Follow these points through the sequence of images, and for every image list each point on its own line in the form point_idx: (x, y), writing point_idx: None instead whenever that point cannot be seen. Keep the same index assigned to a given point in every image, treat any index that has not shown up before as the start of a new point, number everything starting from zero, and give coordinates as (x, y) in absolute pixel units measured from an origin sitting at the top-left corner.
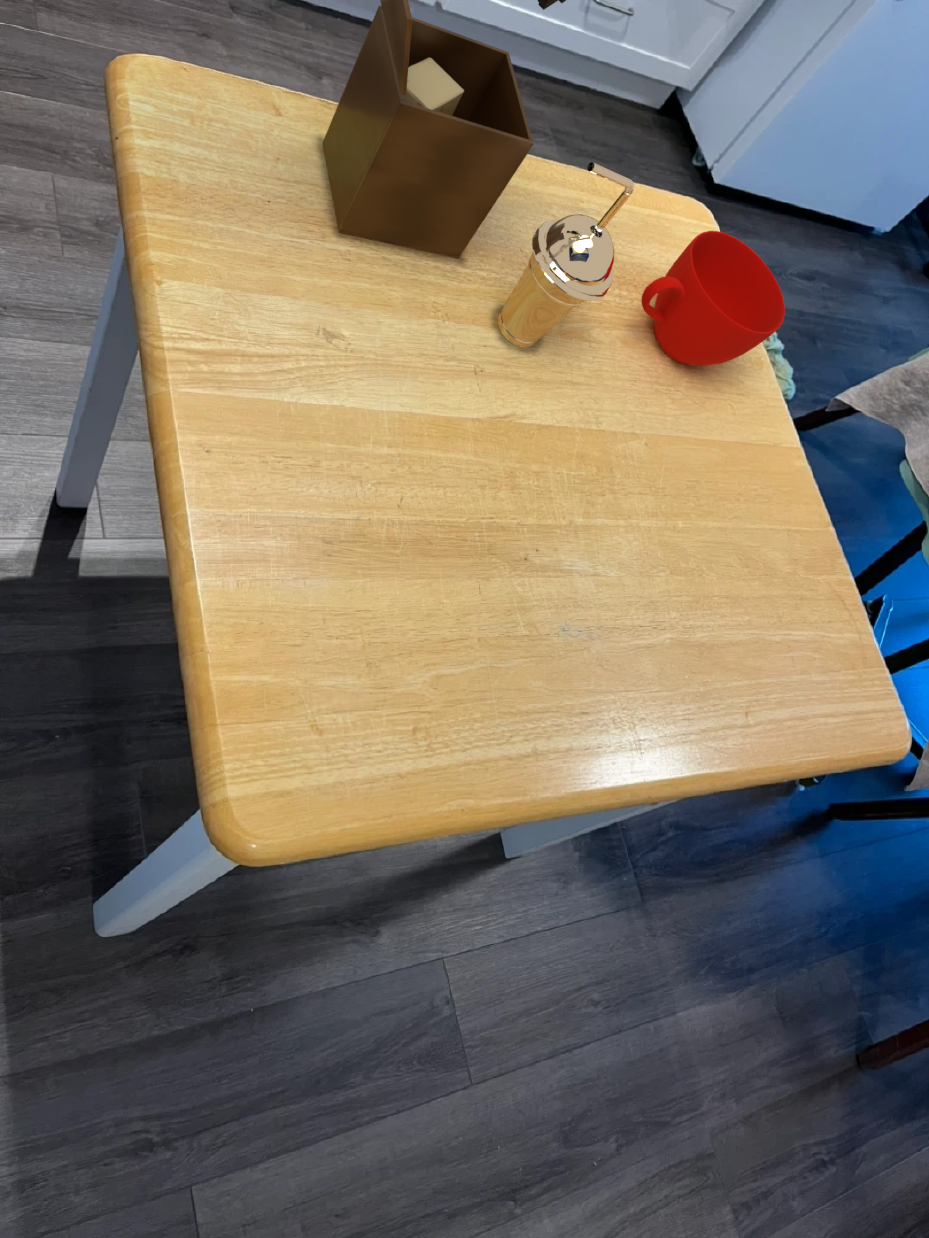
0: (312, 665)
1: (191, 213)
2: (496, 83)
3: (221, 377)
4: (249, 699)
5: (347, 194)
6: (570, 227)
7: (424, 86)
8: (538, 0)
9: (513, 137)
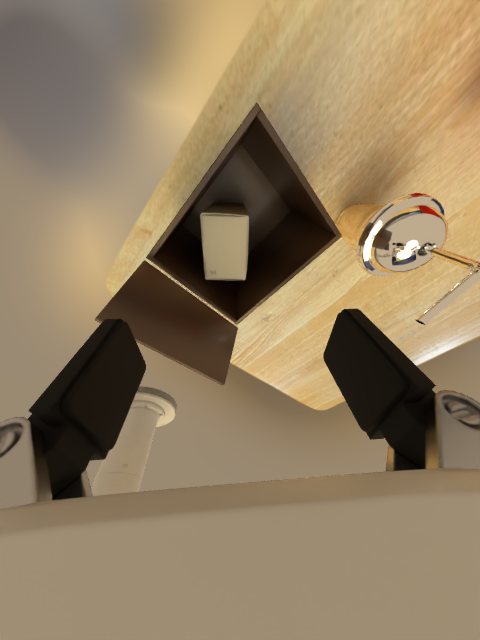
0: (319, 388)
1: None
2: (262, 137)
3: (250, 357)
4: (308, 398)
5: None
6: (394, 261)
7: (225, 261)
8: (325, 358)
9: (320, 253)
